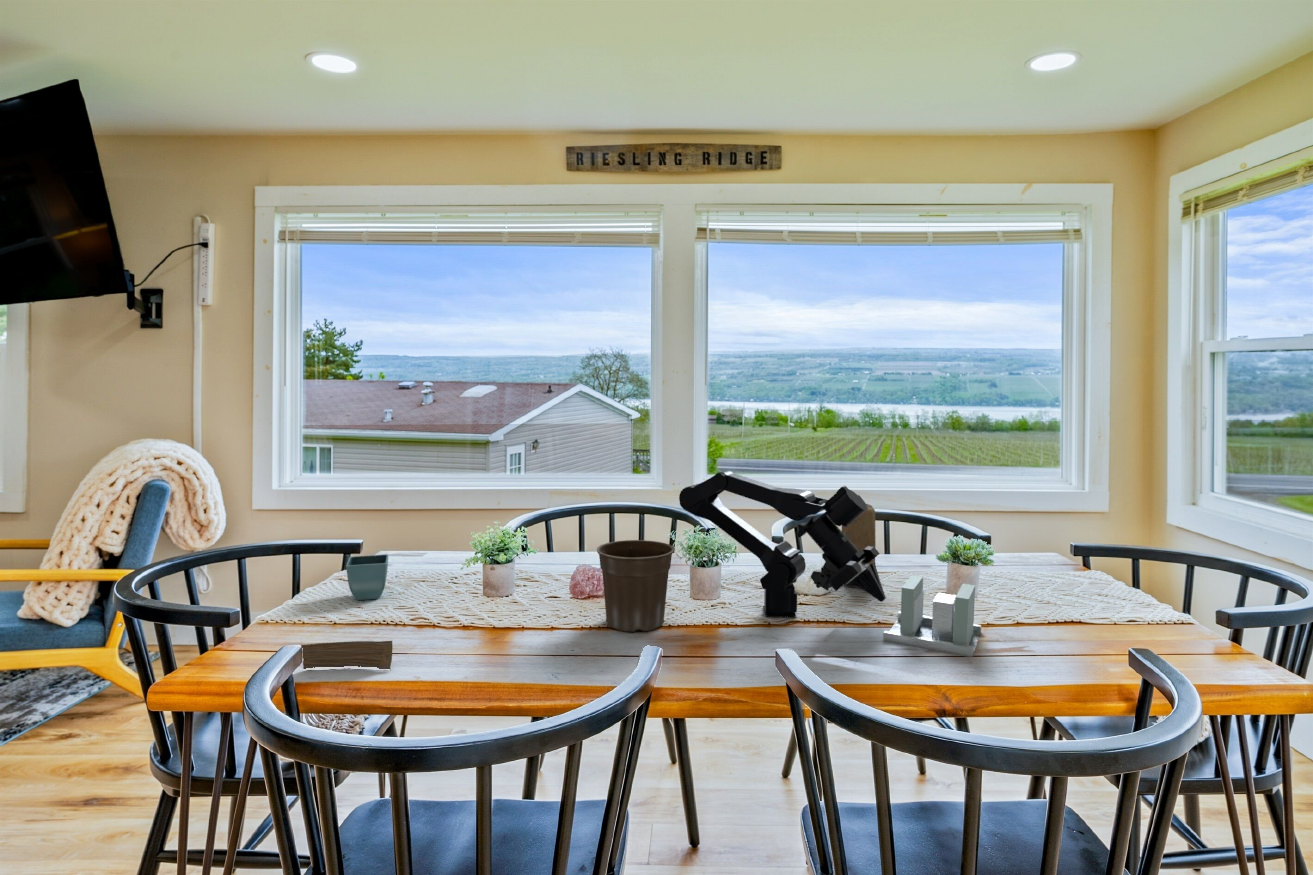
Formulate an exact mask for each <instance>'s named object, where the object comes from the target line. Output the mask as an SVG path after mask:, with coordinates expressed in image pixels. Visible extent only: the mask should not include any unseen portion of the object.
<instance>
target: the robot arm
mask: <svg viewBox="0 0 1313 875" xmlns="http://www.w3.org/2000/svg"><path fill="white" fill-rule="evenodd" d="M724 491H725V492H729V493H731V494H735V495H738V496H740V497H743V498H746V499H750V500H753V501H755V502H759V503H761V504H765V505H767V506H769V507H772V508H773V509H774V510H776V511H777V512H778V513H779V514H781V515H783V516H784V517H786V518H789V519H790V520H793V521H798V522H799V521H802V520H804V519H806V518H808V517H810V516H812V517H810V518H809V520H807V521H806V522H801V523H799V524H797V535H796V537H797V538H802V537H803V536H805V535H806V534H807V535H808V536H809V537H810V538H811V539H812V540H813V542H814V543H815V544H816V546H818V547H819V549H820V550H821V551H822V552H823V553H822V554H821V557H822V559H823V561H824V564H823V566H821V567H820V569H817V568H816V569H814V570H813V571H812V572H811V575H810V578H811V580H812V582H813V584H814V585H815V586H816V588H817V589H820V588H822V589H823V590H826V591H830V590H829V589H831V588H832V589H833V590H834V591H835V592H837V591H838V590H839V589H841V588H842V587H844V585H845V587H850V586H857V587H859V588H858V589H861V590H863V591H864V592H866V594H867V593H868V595H870V596H872V597H873V598H874V599H876V600H877V601H879V602H881V603H882V602H883V601H885V600H886V599H887V598H886V594H885V591H884V589H883V586H882V582H881V579H880V576H879V572H878V569H877V565H876V560H875V561H874V562H873V563H871V564H870V565H869V564H868V563H869V562H870V561H871V560H872V559H874V558H875V559H876V558H877V556H879V555H880V552H879V551H878V550H877V549H876V547H875V548H874V547H871V546H867V547H866V548H865V549H864V550H862V549H861V550H858V549H857V548H856V547H855V546H854V545H853V544H852V542H851V541H850V540H849V539H850V538H851V537H850V536H849V534H847V535H844V533H843V532H842V529H841V528H840V527H842V526H845V527H848V526H849V525H850V524H851V523H852V522H853V521H855V520H856V519H857V518H858V517H859V516H860V515H862V514H863V513H864V512H865V511H866V510H867V509H868V508H867V505H866V504H867V503H866V502H865V500H864V499H863V498H862V496H860V495H859V494H857V492H855V491H853V490H852V489H849V488H848V487H847V486H846V485H843V486H841V487H840V488H838V489H837V491H836V492H835V494H833V495H832V496H831V497H830V498H823V497H820V496H816V495H815V493H813V492H812V491H810V490H807V489H801V488H793V487H792V488H791V487H790V488H788V487H779V486H774V485H772V484H768V483H765V482H762V481H759V480H756V479H753V478H750V477H747V476H743V475H740V474H736V473H735V472H733V471H731V470H723V471H720V472H716V473H715V474H714V475H713V476H711V477H709V478H707V479H706V480H704V481H702V482H701V483H696V484H693V485H689V486H685V487H684V488H682V490H680V493H679V495H678V497H679V498H678V500H679V505H680V507H681V508H682V509H683V510H684V511H686V512H687V513H689V514H692V515H694V516H695V517H698V518H701V519H705V520H708V521H710V522H711V523H713V524H714V525H715V526H716V527H717V528H719V529H721V531H723V532H724V533H725V534H727V535H728V536H729V537H730V538H732V539H734V541H736V542H738V543H739V545H741V546H742V547H744V548H745V549H746V550H748V551H749V552H750V553H752V554H753V555H754V556H756V558H758V559H759V560H760V562H761V565H762V566H763V568H764V569H765V571H766V572H767V573H766V574H765V575H763V576H762V577H761V578H760V579H759V581H760V584H761V587H762V589H763V590H764V592H763V593H764V596H763V598H764V599H763V600H764V602H763V603H764V604H763V606H762V609H763V613H764V616H765V617H766V618H792V619H793V618H796V617H797V616H796V613H797V612H798V593H797V591H796V590H795V588H796V587H795V585H794V584H795V583H797V580H798V578H800V577H801V576H802V575H803V574H804V573H805V570H806V560H805V559H806V558H805V557H804V555H802V554H801V553H800V552H801V550H800V549H798V548H797V549H796V548H795V547H794V546H792V545H791V544H790V542H788V541H787V540H784V541H781V542H780V543H776V542H773V541H772V540H771V539H769V538H768V537H766V536H765V535H764V534H762V533H761V532H760V531H758V530H757V529H756V528H754V527H753V526H751V524H749V523H748V522H746V521H745V520H743V519H742V518H741V517H739V516H738V515H737V514H736V513H734V512H733V511H731V510H730V509H729V508H727V507H726V506H725V505H724V504H723V503H722V501H721V499H720V497H719V495H720V494H721V493H723V492H724ZM823 511H824V513H823V514H822V515H820V516H818V514H819V513H820V512H823ZM849 580H850V582H849V583H848V584H846V583H847V582H848V581H849Z"/></svg>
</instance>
